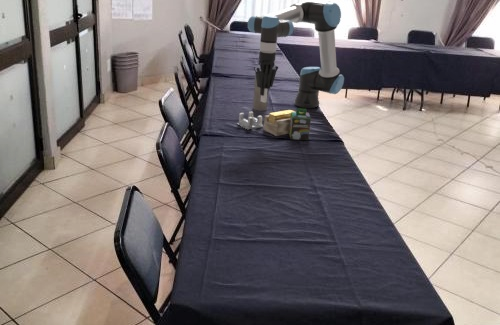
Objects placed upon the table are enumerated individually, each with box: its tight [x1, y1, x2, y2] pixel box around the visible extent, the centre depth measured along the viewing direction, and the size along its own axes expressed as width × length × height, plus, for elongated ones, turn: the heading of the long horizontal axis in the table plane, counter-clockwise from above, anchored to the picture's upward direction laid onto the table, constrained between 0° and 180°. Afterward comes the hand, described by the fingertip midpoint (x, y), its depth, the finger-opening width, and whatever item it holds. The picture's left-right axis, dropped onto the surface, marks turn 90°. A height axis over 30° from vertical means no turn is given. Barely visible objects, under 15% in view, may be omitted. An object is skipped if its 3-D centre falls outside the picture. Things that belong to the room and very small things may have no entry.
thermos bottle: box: [252, 59, 269, 112], centre depth 257 cm, size 8×8×28 cm
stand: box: [236, 111, 264, 131], centre depth 230 cm, size 10×9×6 cm
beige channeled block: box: [263, 114, 290, 137], centre depth 227 cm, size 16×10×8 cm, turn 127°
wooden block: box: [268, 109, 295, 124], centre depth 225 cm, size 14×4×4 cm, turn 127°
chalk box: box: [288, 108, 312, 141], centre depth 218 cm, size 9×9×15 cm
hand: (263, 101), depth 214 cm, fingers closed
